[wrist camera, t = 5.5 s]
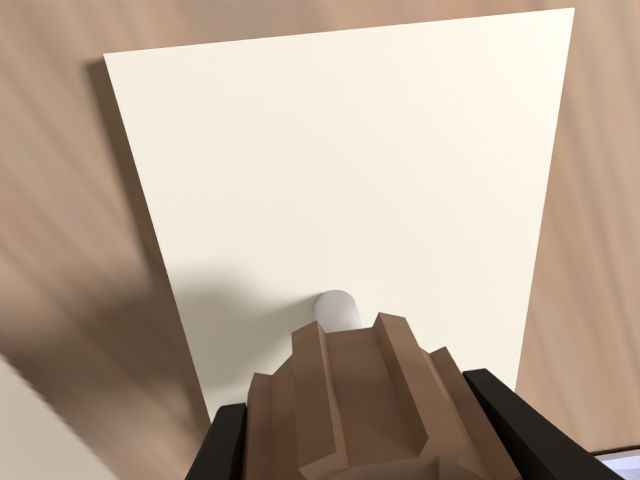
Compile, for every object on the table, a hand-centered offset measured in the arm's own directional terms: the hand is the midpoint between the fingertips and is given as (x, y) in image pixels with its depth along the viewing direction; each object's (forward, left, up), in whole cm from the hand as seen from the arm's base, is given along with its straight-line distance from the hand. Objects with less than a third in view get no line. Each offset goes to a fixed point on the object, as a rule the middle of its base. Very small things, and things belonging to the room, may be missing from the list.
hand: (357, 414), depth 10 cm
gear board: (-1, +1, -6) cm, 6 cm away
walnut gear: (0, 0, 0) cm, 0 cm away
